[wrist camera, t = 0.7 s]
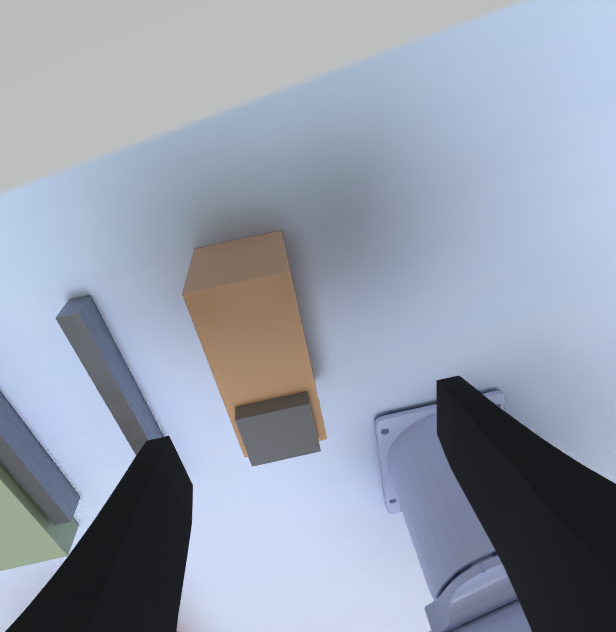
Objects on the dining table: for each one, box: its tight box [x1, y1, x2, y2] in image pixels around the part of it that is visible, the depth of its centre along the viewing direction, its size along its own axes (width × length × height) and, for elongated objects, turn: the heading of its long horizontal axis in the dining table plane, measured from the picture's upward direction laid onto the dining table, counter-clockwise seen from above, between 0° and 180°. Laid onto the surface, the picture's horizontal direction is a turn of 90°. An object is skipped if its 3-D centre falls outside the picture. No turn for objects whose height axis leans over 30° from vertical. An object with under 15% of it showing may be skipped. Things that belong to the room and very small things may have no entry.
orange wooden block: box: [182, 230, 327, 466], centre depth 19 cm, size 9×4×5 cm, turn 10°
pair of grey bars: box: [0, 296, 163, 525], centre depth 22 cm, size 13×8×2 cm, turn 10°
